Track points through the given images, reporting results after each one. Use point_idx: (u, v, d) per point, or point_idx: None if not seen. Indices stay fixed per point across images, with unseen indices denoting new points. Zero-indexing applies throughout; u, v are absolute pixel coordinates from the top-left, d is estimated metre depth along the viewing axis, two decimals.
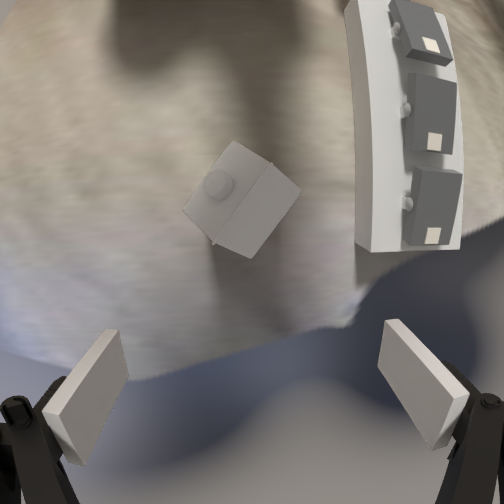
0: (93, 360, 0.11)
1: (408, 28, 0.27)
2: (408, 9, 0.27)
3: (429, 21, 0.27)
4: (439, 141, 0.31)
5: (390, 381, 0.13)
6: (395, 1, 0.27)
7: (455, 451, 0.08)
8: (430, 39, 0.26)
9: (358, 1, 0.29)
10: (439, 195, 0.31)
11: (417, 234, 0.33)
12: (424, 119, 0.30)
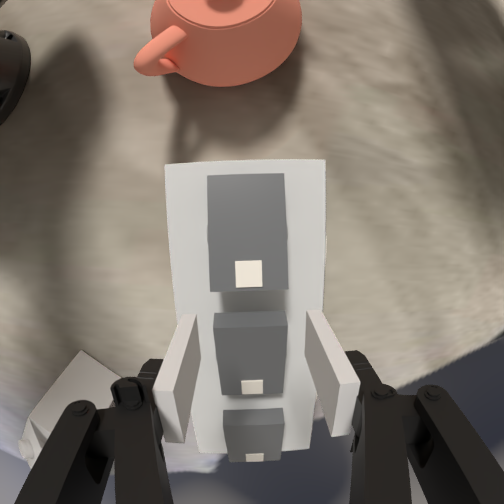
0: (185, 341, 0.13)
1: (214, 248, 0.24)
2: (228, 199, 0.25)
3: (264, 214, 0.25)
4: (260, 386, 0.29)
5: (310, 368, 0.15)
6: (208, 186, 0.25)
7: (356, 444, 0.09)
8: (251, 261, 0.24)
9: (166, 182, 0.27)
10: (253, 438, 0.29)
11: (234, 457, 0.31)
12: (233, 370, 0.28)
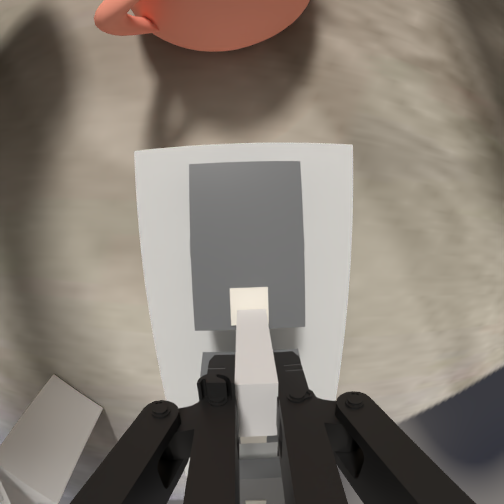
0: (250, 335, 0.14)
1: (199, 269, 0.17)
2: (219, 198, 0.17)
3: (271, 220, 0.17)
4: (263, 436, 0.21)
5: None
6: (191, 180, 0.17)
7: (281, 449, 0.10)
8: (252, 288, 0.17)
9: (137, 175, 0.19)
10: (255, 488, 0.22)
11: None
12: None
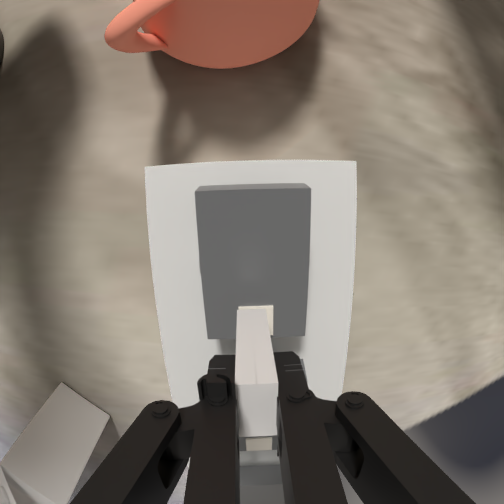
0: (250, 335, 0.14)
1: (210, 291, 0.18)
2: (227, 226, 0.17)
3: (279, 248, 0.17)
4: (268, 443, 0.21)
5: None
6: (197, 207, 0.17)
7: (281, 449, 0.10)
8: (259, 307, 0.18)
9: (147, 190, 0.20)
10: (260, 495, 0.22)
11: None
12: None
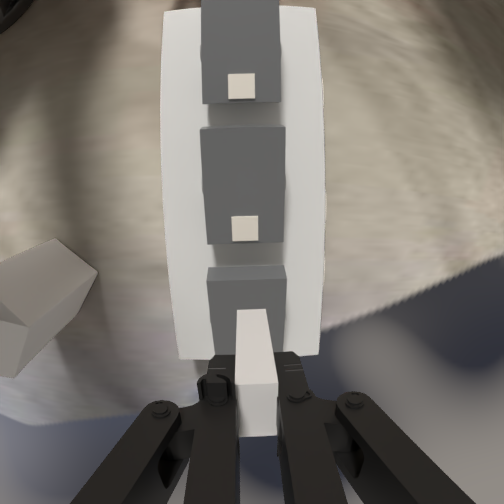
0: (250, 335, 0.14)
1: (207, 63, 0.21)
2: (222, 19, 0.20)
3: (258, 32, 0.20)
4: (254, 226, 0.25)
5: None
6: (202, 9, 0.19)
7: (281, 449, 0.10)
8: (244, 74, 0.21)
9: (164, 24, 0.23)
10: None
11: (223, 352, 0.27)
12: (222, 198, 0.24)
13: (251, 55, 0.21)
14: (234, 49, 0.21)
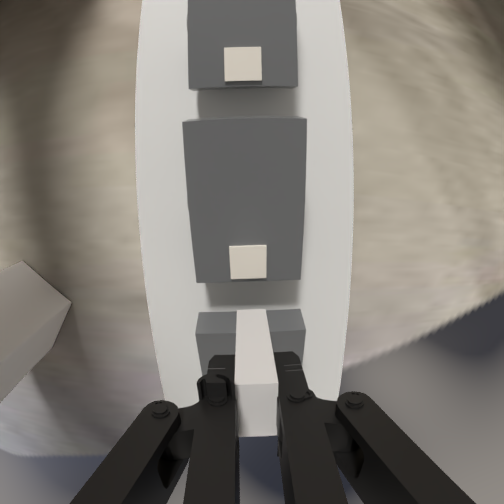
0: (250, 335, 0.14)
1: (195, 33, 0.14)
2: None
3: None
4: (261, 259, 0.18)
5: None
6: None
7: (281, 449, 0.10)
8: (246, 47, 0.15)
9: None
10: None
11: None
12: (215, 221, 0.17)
13: (256, 23, 0.14)
14: (233, 15, 0.14)
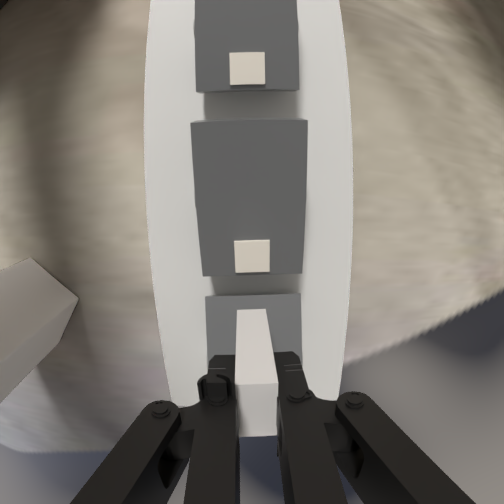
0: (250, 335, 0.14)
1: (202, 39, 0.15)
2: None
3: (268, 1, 0.14)
4: (265, 254, 0.19)
5: None
6: None
7: (281, 449, 0.10)
8: (250, 53, 0.16)
9: (152, 1, 0.17)
10: None
11: None
12: (221, 217, 0.18)
13: (260, 29, 0.15)
14: (238, 22, 0.15)
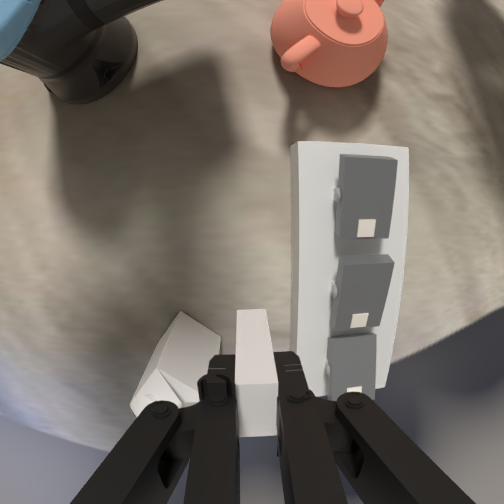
0: (250, 335, 0.14)
1: (346, 210, 0.33)
2: (359, 176, 0.31)
3: (381, 188, 0.32)
4: (365, 319, 0.36)
5: None
6: (345, 165, 0.31)
7: (281, 449, 0.10)
8: (369, 220, 0.33)
9: (299, 155, 0.35)
10: (354, 358, 0.37)
11: (337, 395, 0.37)
12: (349, 304, 0.35)
13: (375, 206, 0.32)
14: (365, 201, 0.32)
